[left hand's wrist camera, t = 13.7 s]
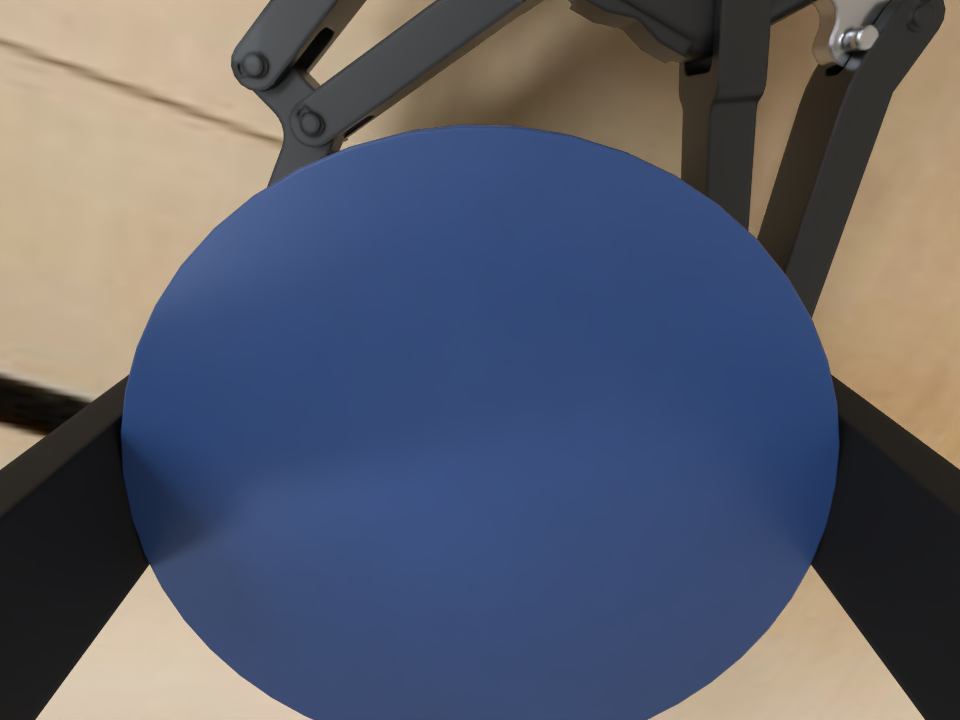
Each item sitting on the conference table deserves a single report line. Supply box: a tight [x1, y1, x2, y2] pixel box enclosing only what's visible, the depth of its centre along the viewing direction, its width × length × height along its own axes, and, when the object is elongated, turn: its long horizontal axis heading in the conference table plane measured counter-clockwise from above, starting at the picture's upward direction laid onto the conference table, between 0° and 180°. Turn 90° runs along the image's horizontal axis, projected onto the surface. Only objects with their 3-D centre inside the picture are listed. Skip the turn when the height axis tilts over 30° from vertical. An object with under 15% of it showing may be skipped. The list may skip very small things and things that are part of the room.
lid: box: [121, 124, 840, 720], centre depth 11 cm, size 11×11×2 cm
